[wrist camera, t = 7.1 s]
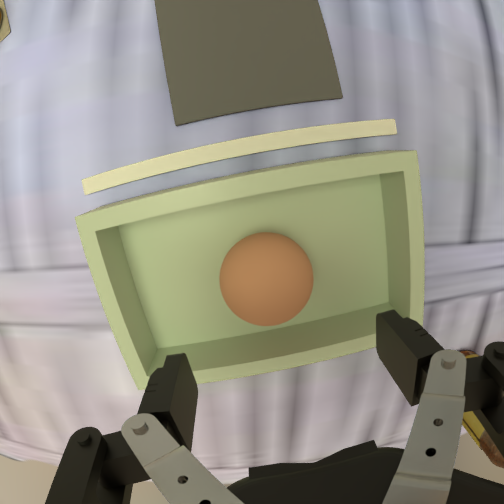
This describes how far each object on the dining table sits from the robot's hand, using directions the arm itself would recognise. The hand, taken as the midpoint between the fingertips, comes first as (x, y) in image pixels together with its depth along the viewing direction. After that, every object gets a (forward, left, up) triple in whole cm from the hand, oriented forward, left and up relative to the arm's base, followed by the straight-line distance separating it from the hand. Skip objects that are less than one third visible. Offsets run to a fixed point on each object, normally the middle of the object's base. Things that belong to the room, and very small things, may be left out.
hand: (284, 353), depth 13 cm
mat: (-2, -17, -12) cm, 21 cm away
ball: (0, 0, -11) cm, 11 cm away
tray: (0, 0, -12) cm, 12 cm away
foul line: (0, -8, -12) cm, 15 cm away
